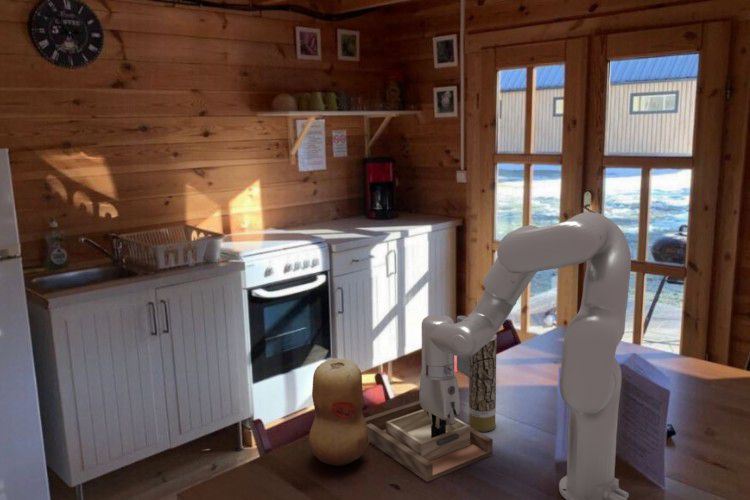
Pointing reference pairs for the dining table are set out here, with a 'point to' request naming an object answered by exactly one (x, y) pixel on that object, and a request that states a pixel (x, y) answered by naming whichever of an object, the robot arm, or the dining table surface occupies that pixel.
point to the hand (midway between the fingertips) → (438, 440)
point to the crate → (428, 435)
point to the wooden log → (483, 387)
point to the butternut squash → (338, 413)
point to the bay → (414, 462)
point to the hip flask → (462, 361)
